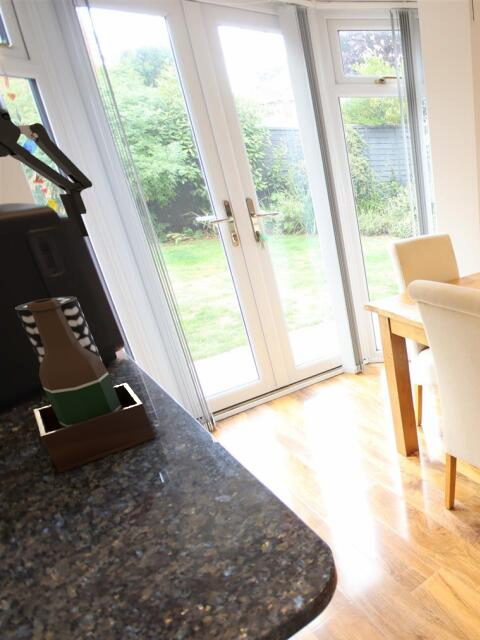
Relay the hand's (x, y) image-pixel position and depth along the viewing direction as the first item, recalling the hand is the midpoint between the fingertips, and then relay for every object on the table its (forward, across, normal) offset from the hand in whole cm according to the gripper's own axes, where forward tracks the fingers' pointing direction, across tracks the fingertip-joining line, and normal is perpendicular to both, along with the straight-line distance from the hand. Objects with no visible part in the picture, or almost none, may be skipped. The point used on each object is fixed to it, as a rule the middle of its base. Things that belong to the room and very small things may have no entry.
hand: (25, 243), depth 68 cm
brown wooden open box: (+32, -2, -4) cm, 33 cm away
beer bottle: (+32, -2, -4) cm, 32 cm away
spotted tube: (+33, +4, +18) cm, 37 cm away
